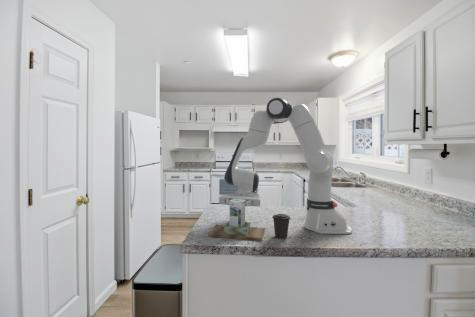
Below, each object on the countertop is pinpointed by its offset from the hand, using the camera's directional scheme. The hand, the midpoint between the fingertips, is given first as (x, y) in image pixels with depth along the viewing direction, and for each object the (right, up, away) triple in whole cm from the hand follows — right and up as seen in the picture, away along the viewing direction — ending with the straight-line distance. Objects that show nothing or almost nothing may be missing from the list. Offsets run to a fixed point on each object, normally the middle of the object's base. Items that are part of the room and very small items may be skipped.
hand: (236, 204), depth 124 cm
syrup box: (0, -13, +2) cm, 13 cm away
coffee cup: (+20, -15, -2) cm, 25 cm away
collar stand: (0, -14, +2) cm, 14 cm away
